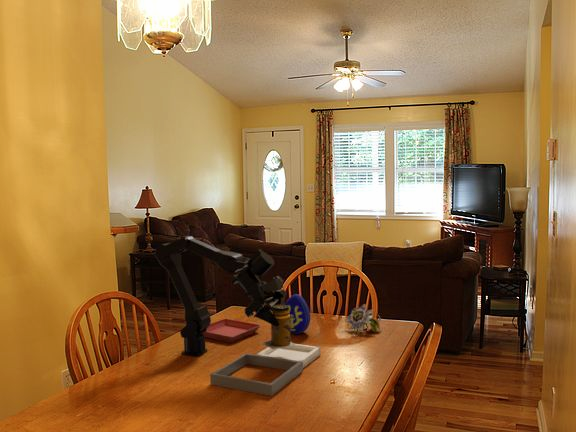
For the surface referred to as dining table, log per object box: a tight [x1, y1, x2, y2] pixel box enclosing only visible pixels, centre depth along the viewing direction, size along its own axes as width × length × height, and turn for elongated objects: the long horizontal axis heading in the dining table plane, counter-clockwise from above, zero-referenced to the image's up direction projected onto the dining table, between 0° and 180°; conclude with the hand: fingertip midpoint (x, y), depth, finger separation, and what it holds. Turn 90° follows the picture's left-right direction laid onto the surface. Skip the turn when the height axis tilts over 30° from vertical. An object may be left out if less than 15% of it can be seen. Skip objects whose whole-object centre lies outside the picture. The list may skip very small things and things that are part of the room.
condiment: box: [260, 304, 296, 349], centre depth 164 cm, size 7×8×12 cm
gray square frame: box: [209, 352, 304, 397], centre depth 154 cm, size 20×20×3 cm
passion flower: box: [344, 303, 382, 334], centre depth 202 cm, size 11×11×12 cm
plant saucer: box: [202, 318, 261, 343], centre depth 199 cm, size 18×18×3 cm
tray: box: [255, 343, 321, 369], centre depth 171 cm, size 16×15×2 cm
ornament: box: [284, 293, 311, 335], centre depth 199 cm, size 11×9×15 cm
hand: (283, 323), depth 164 cm, fingers closed on condiment, 6 cm apart
